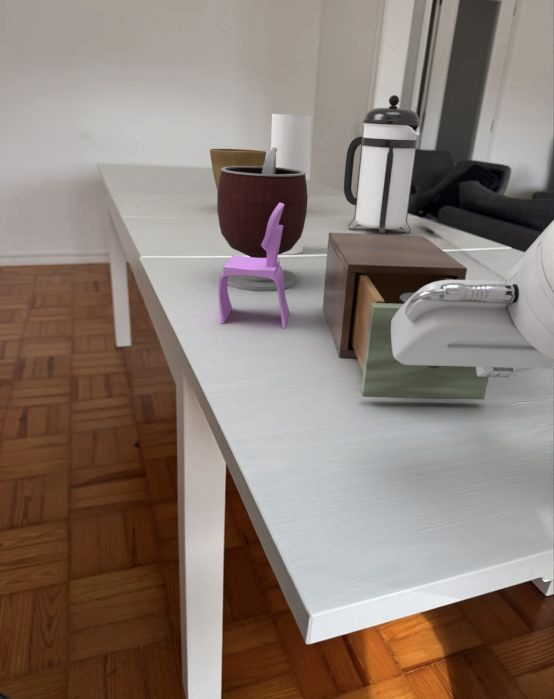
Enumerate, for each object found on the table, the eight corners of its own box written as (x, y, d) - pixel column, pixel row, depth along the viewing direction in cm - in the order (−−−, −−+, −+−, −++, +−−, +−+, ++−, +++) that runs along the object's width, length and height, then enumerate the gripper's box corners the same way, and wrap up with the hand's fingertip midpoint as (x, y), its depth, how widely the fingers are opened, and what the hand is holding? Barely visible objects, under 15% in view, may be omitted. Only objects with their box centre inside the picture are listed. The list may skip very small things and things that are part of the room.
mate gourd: (295, 296, 82) (303, 155, 74) (206, 287, 84) (205, 149, 76) (308, 270, 96) (317, 149, 88) (231, 263, 98) (233, 144, 91)
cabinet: (450, 360, 63) (467, 268, 58) (339, 357, 62) (348, 264, 58) (412, 311, 78) (423, 235, 74) (322, 309, 77) (328, 232, 73)
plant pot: (275, 213, 151) (278, 151, 145) (235, 218, 141) (236, 152, 135) (238, 205, 160) (239, 147, 154) (198, 209, 150) (197, 147, 144)
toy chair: (227, 305, 77) (228, 195, 71) (289, 310, 76) (296, 199, 70) (215, 325, 69) (215, 204, 63) (284, 331, 69) (291, 209, 63)
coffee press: (408, 227, 140) (426, 98, 128) (411, 239, 125) (431, 95, 114) (340, 222, 142) (351, 95, 131) (335, 233, 128) (348, 91, 116)
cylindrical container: (276, 244, 114) (282, 114, 104) (308, 249, 111) (317, 115, 102) (260, 251, 108) (265, 113, 98) (293, 256, 105) (301, 115, 96)
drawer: (488, 406, 51) (509, 315, 47) (365, 403, 50) (376, 311, 47) (434, 338, 66) (447, 265, 63) (339, 335, 66) (346, 262, 62)
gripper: (425, 334, 32) (372, 401, 45) (761, 344, 33) (615, 407, 46) (415, 241, 34) (368, 330, 47) (729, 253, 35) (599, 337, 48)
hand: (492, 368), depth 46 cm, fingers closed
